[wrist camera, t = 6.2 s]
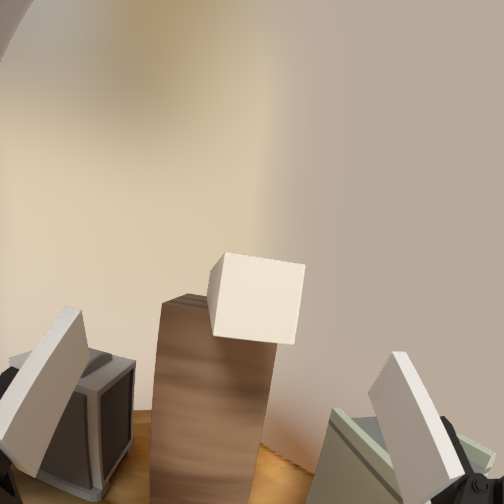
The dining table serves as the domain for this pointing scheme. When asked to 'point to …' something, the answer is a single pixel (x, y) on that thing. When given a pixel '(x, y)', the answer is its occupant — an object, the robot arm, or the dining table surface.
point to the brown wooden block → (205, 408)
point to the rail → (255, 298)
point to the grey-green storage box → (368, 463)
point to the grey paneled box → (91, 427)
